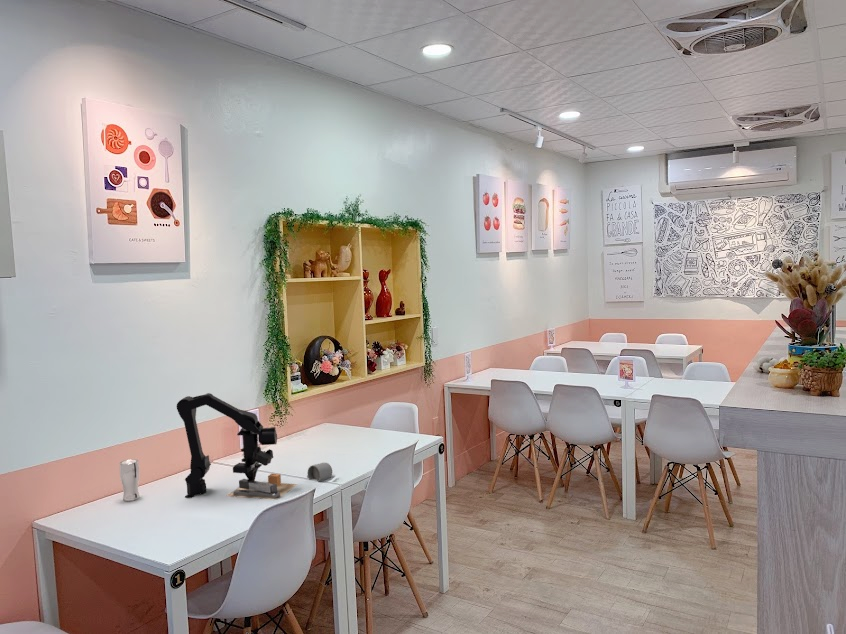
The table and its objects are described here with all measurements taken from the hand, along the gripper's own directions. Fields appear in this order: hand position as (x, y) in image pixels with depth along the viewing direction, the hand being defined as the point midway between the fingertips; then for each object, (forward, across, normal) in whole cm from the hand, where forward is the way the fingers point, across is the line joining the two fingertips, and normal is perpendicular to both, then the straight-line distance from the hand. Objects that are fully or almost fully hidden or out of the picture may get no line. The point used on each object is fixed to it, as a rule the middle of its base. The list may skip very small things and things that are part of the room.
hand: (252, 483), depth 259 cm
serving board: (+4, 0, -4) cm, 6 cm away
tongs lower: (+2, -6, -5) cm, 8 cm away
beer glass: (+4, -15, +45) cm, 48 cm away
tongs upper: (+1, -4, -4) cm, 6 cm away
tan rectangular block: (+2, +7, -6) cm, 10 cm away
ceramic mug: (+4, +18, -20) cm, 27 cm away
